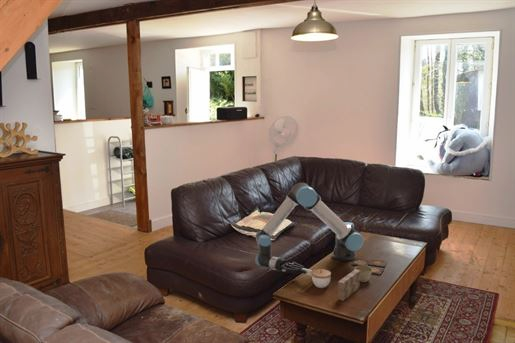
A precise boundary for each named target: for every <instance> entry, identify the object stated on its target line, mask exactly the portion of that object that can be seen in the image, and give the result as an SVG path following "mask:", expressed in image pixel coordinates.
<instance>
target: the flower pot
mask: <svg viewBox="0 0 515 343" xmlns="http://www.w3.org/2000/svg"><path fill="white" fill-rule="evenodd" d="M355 269H356V270H360V283H367V282H368V281H369V280H370V279H371V276H372V273H373V268H372V267H371V266H368V265H358V266H357V265H356V266H355V267H354V270H355Z"/></svg>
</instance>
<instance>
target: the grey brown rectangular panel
mask: <svg viewBox="0 0 515 343" xmlns="http://www.w3.org/2000/svg"><path fill="white" fill-rule="evenodd" d="M337 283H338V284H337V285H338V286H337V288H338V289H337V300H339V301H343V302H344V301H345V300H346V299H348V298H349V297H350V296H351V295H353V294H354V293H355V292H357V290H359V289H360V288H361V281H360V270H356V269H355V268H354V270H352V271H351V272H350V273H348V274H347V275H345V276H344V277H342V278H341V279H340V280H339V281H338V282H337Z"/></svg>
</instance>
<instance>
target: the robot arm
mask: <svg viewBox="0 0 515 343" xmlns="http://www.w3.org/2000/svg"><path fill="white" fill-rule="evenodd" d="M285 196H286V198H285V199H284V201H283V202H282V203H281V204H280V205H279V207H278V208H277V209H276V211H275V212H274V213H273V214H272V216H271V217H270V218H269V219H268V220H267V222H266V224H265V225H264V226H263V227H262V228H261V230H259V231H256V233H255V241H256V243H257V246H258V252H259V253H257V254H256V255H255V260H254V262H255V265H257V266H258V267H259V266H260V267H263V268H267V269H270V270H273V271H278V272H280V273H287V274H292V275H293V274H294V275H302V274H304V275H308V276H311V277H312V271H314V270H312V269H309V268H305V266H304V265H303V264H300V263H298V262H296V261H293V262H292V263H291V262H288V261H287V259H284V258H280V257H277V256H273V255H272V236H273V235H274V234H275V232H276V231H277V230H278V228H280V226H281V225H282V223H283V222H284V221H285V220H286V218H288V216H289V215H290V214H291V212H292V211H293V210H294V209H295V207H296V206H298V205H301V206H302V207H303V208H304V209H305V210H306V211H311V212H312V213H313V214H314V215H315V216H316V217H318V219H319V220H321V221H322V222H323V223H324V224H325V225H326V226H327V227H328V228H329V229H330V230H331V231H332V232H333V233H335V246H334V249H333V252H332V258H333V259H335V260H338V261H344V262H345V261H354V260H356V258H357V252H356V251H358V250H360V248H362V247H363V245H364V237H363V235H362V234H361V233H359V231H357V230H356V229H355V224H354V223H353V222H348V221H347V222H346V221H345V222H344V221H343V220H342V219H341V218H340V217H339V216H338V215H337V214H336V213H335V212H333V210H331V209H330V207H328V206H327V204H325V203H324V201H322V198H321V195H319V194H318V193H317V192H316V190H315V189H314V188H313V187H311V186H310V185H308V184H307V183H306V182H298V183H296V184H295V185H293V186H292V188H291V189H290V190H289V192H288V193H287V194H286V195H285Z"/></svg>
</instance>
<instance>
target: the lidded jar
mask: <svg viewBox="0 0 515 343" xmlns="http://www.w3.org/2000/svg"><path fill="white" fill-rule="evenodd" d="M331 275H332V272H331V271H330V270H328V269H324V268H323V269H322V268H321V269H320V268H317V269H314V270H313V271H312V276H311V278H312V279H311V280H312V283H313V284H314V285H315V287H317V288H320V289H324V288H327V286H328V285H329V284H330V283H331V278H332V276H331Z"/></svg>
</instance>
